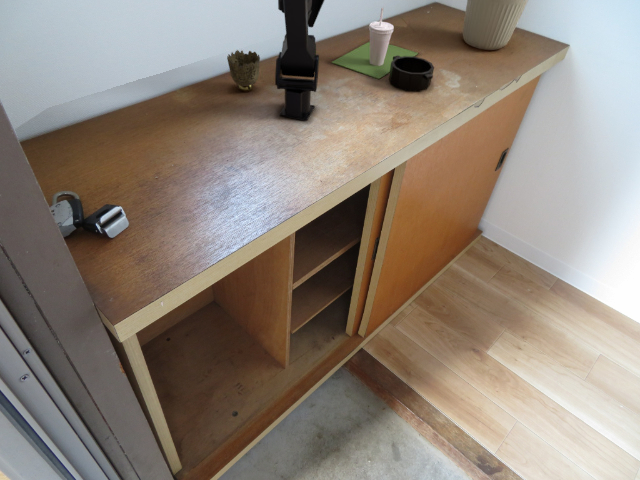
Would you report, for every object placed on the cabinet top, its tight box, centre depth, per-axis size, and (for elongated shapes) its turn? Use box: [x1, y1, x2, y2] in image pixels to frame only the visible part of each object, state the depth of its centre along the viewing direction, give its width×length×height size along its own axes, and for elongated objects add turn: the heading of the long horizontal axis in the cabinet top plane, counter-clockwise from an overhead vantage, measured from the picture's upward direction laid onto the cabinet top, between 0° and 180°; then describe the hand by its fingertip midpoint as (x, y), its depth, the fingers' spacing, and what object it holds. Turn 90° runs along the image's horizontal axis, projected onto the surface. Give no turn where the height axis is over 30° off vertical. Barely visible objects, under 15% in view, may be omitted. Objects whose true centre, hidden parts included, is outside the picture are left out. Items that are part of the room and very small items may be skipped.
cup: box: [226, 49, 261, 93], centre depth 103 cm, size 8×7×8 cm
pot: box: [388, 55, 435, 92], centre depth 111 cm, size 10×13×4 cm
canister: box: [462, 0, 529, 51], centre depth 127 cm, size 18×18×21 cm
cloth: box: [331, 41, 419, 80], centre depth 123 cm, size 22×15×1 cm
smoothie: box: [368, 7, 395, 66], centre depth 115 cm, size 6×6×14 cm
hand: (304, 33), depth 101 cm, fingers open, 9 cm apart
